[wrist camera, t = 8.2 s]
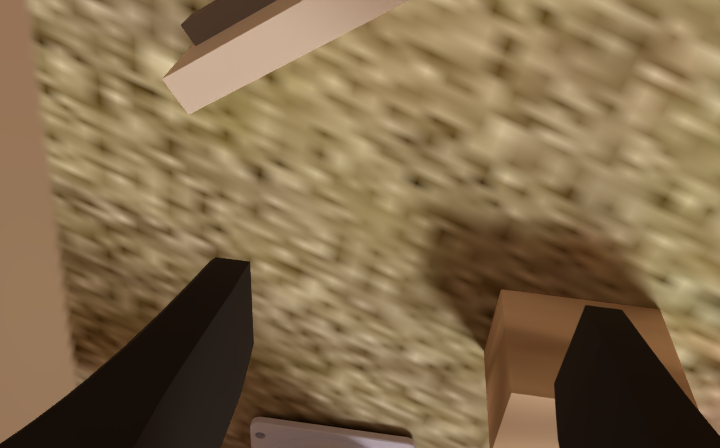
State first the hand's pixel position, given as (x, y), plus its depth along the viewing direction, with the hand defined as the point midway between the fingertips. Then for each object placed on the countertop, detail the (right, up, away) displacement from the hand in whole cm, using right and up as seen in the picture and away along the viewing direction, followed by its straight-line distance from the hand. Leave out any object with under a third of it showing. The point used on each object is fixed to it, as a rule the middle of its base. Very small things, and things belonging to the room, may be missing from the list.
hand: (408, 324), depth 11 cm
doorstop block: (+7, -2, +14) cm, 16 cm away
